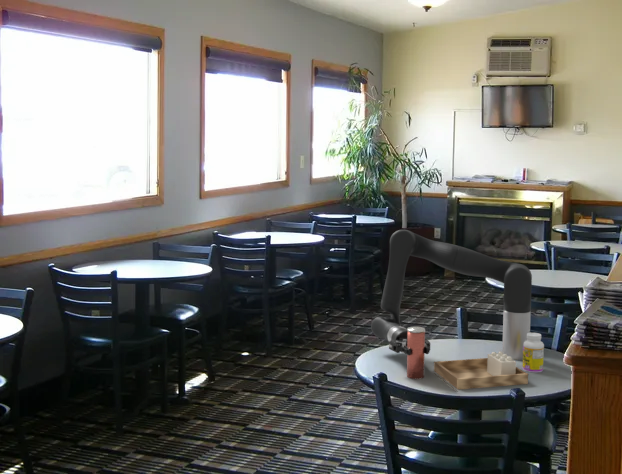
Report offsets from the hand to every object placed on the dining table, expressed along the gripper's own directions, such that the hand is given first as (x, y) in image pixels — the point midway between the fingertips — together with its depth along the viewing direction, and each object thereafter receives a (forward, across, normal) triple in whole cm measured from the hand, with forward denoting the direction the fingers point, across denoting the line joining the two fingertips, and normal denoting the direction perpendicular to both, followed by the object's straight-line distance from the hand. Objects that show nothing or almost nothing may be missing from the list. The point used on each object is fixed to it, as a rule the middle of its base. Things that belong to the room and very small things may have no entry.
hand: (418, 351), depth 261 cm
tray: (+5, +19, +9) cm, 22 cm away
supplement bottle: (+1, +40, +9) cm, 41 cm away
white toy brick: (+5, +26, +8) cm, 28 cm away
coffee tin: (-3, 0, +9) cm, 9 cm away
